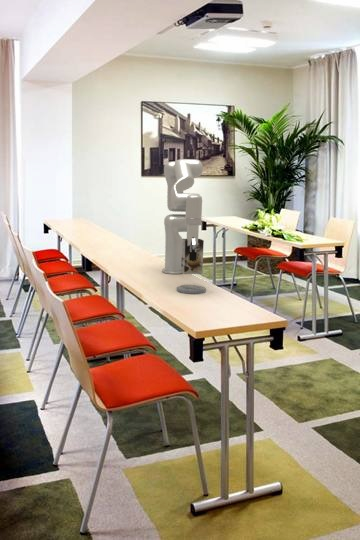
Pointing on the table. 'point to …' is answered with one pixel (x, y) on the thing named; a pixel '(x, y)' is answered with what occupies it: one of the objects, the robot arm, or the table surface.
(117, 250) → the table surface
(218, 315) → the table surface
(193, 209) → the robot arm
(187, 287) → the dish
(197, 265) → the coffee box
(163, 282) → the table surface
